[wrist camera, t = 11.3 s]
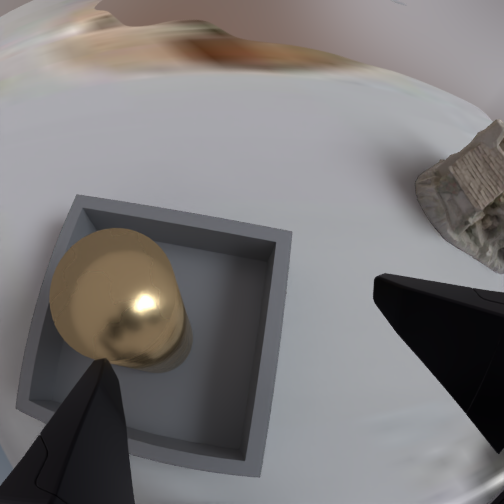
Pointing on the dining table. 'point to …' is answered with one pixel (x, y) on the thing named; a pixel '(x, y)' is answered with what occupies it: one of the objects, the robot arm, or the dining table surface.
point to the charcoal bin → (203, 346)
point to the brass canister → (121, 302)
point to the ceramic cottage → (470, 197)
